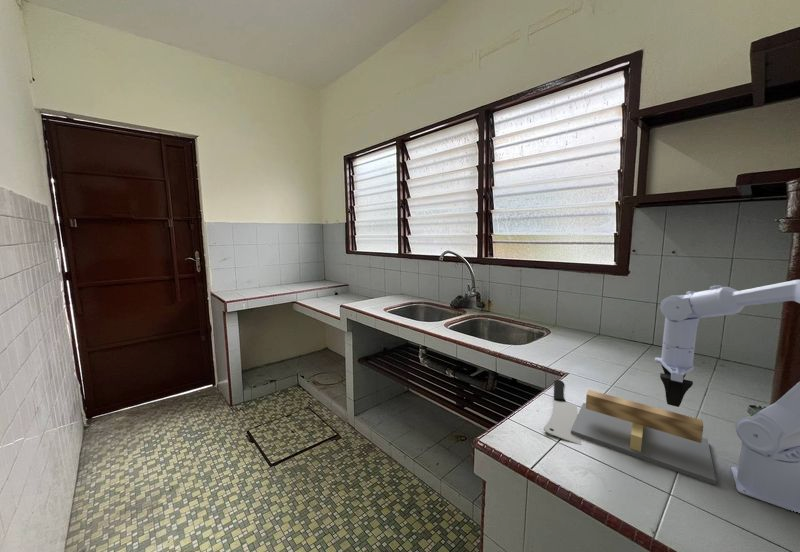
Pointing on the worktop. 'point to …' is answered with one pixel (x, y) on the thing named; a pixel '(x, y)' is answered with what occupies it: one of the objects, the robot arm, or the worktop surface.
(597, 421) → the ridge stand
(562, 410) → the kitchen cleaver
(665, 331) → the robot arm
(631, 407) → the oak beam
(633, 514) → the worktop surface
